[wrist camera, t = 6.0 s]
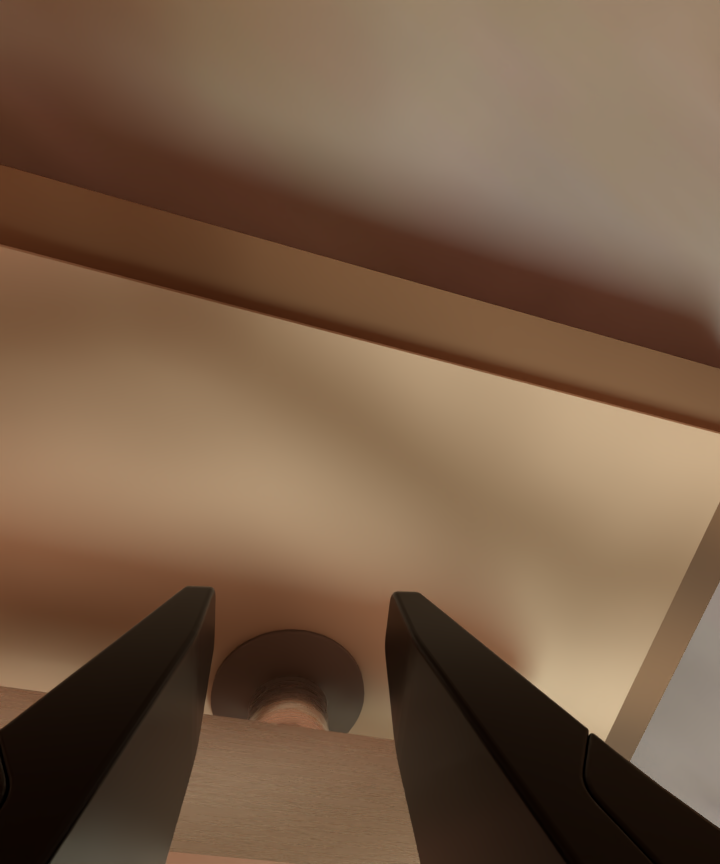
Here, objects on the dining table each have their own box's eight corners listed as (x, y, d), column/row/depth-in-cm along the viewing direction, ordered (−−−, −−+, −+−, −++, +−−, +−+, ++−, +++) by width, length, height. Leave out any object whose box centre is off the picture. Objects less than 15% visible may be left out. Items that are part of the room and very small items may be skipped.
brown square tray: (497, 901, 22) (527, 999, 19) (-109, 847, 19) (-186, 958, 16) (739, 375, 17) (833, 400, 14) (-68, 146, 13) (-178, 113, 10)
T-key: (580, 719, 15) (690, 900, 11) (555, 775, 16) (650, 969, 12) (-46, 623, 13) (-227, 814, 8) (-52, 694, 13) (-226, 908, 9)
